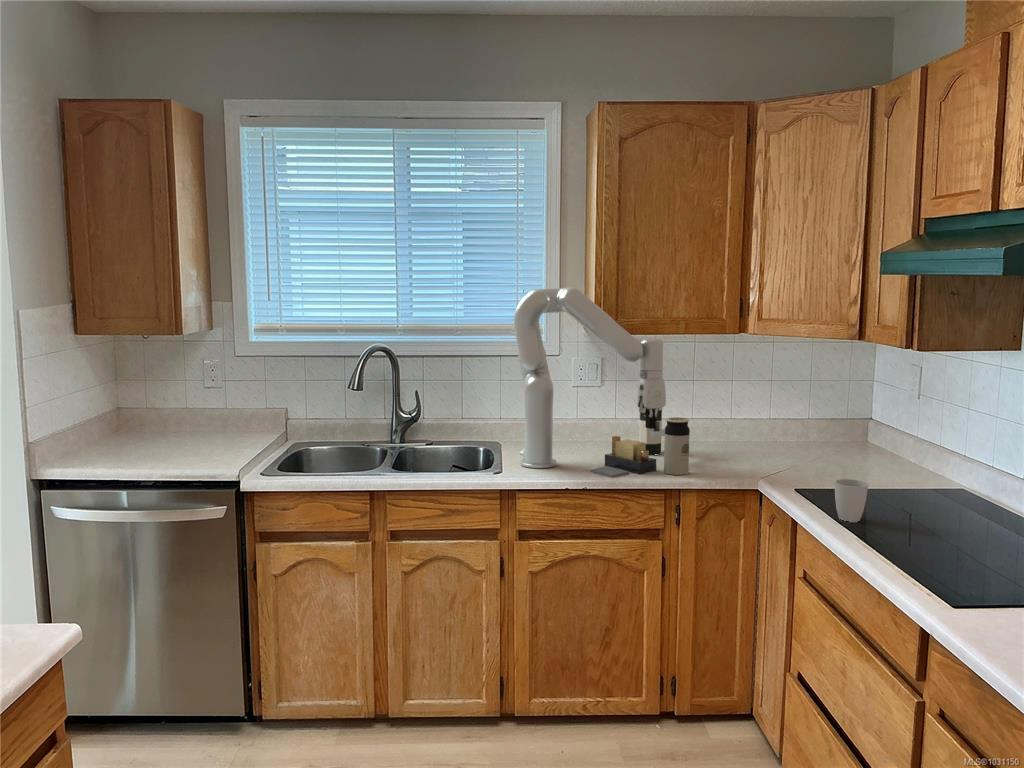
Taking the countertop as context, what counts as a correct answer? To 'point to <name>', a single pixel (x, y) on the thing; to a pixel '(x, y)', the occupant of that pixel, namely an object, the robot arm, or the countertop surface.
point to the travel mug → (676, 446)
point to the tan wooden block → (629, 449)
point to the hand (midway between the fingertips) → (650, 427)
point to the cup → (850, 499)
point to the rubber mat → (609, 471)
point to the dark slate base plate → (630, 461)
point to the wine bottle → (645, 435)
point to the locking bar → (657, 431)
